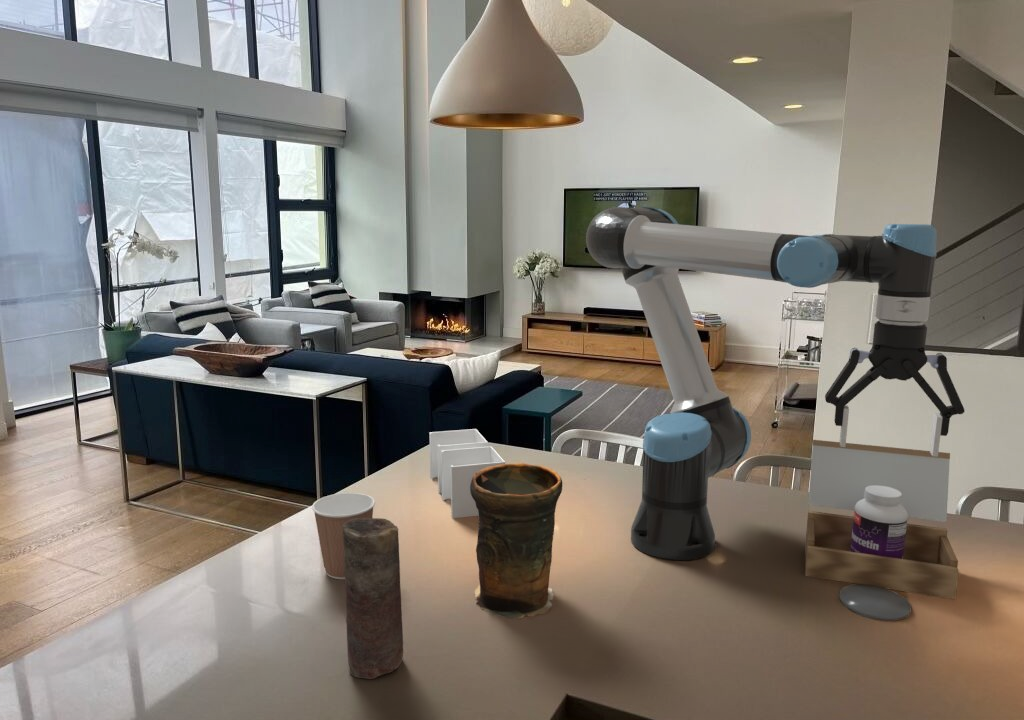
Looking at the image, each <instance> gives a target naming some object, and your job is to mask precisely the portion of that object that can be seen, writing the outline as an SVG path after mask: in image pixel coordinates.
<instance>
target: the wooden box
mask: <svg viewBox="0 0 1024 720" xmlns="http://www.w3.org/2000/svg"><path fill="white" fill-rule="evenodd" d="M806 520H807V521H806V532H805V533H806V534H805V547H804V549H805V550H804V551H805V552H804V553H805V554H804V555H805V556H804V558H805V561H804V562H805V565H804V566H805V568H804V569H805V576H806V577H812V578H818V579H826V580H830V581H836V582H837V581H839V582H844V583H850V584H854V585H857V584H864V585H873V586H878V587H882V588H885V589H888V590H892V591H893V590H894V591H902V592H908V593H912V594H913V593H914V594H920V595H927V596H931V597H932V596H933V597H939V598H944V599H952V600H956V592H957V586H958V585H957V584H958V577H959V568H958V565H959V560H958V558H957V556H956V553H955V551H954V549H953V547H952V544H951V542H950V540H949V538H948V528H945V527H936V526H929V525H922V524H921V525H920V524H914V523H907V527H906V535H905V544H904V552H903V559H898V558H891V557H884V556H877V555H871V554H864V553H857V552H850V548H851V539H852V529H853V520H854V515H844V514H837V513H836V514H835V513H829V512H822V511H814V510H807V519H806Z"/></svg>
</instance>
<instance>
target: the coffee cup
mask: <svg viewBox="0 0 1024 720" xmlns="http://www.w3.org/2000/svg"><path fill="white" fill-rule="evenodd" d="M375 504H376V501H375V498H374V497H372V496H370V495H368V494H366V493H359V492H338V493H335V494H330V495H327V496H323V497H321V498H319V499H317V500H316V501H314V502H313V504H312V505H311V508H312V512H314V518H315V524H316V529H317V534H318V540H319V545H320V552H321V558H322V562H323V568H324V570H325V573H326V575H327V576H328V577H330V578H331V579H334V580H345V570H344V544H343V525H344V524H345V523H346V522H348V521H349V520H351V519H355V518H374V517H373V514H374V513H373V512H374V506H375Z"/></svg>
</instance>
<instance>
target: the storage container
mask: <svg viewBox="0 0 1024 720" xmlns="http://www.w3.org/2000/svg"><path fill="white" fill-rule="evenodd" d="M428 433H429V474H430V475H429V477H430V479H431V480H433V479H434V478H437V492H438V494H439V495H441V499H442V500H441V501H444V502H445V501H446V500H450V507H451V508H450V514H451V516H450V517H451V518H452V519H458V518H469V517H477V516H478V517H479V512H478V509H477V508H476V503H475V500H474V499H473V498H472V496H471V492H470V484H471V481H472V478H473V476H474V475H475V473H476V472H478V471H479V470H482V469H484V468H488V467H490V466H497V465H502V464H506V461H505V460H504V459H503V458H502V456H500V454H499V453H498V452H497V451H496V449H495V448H493V446H492V445H490V446H489V442H488V440H486V438H485V437H484V436H483V435H482V434H481V433H480V432H479V430H478V429H477V428H472V429H471V428H470V429H468V428H467V429H459V430H458V429H457V430H443V431H442V430H441V431H432V432H431V431H430V432H429V431H428Z"/></svg>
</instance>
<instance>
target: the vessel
mask: <svg viewBox="0 0 1024 720" xmlns="http://www.w3.org/2000/svg"><path fill="white" fill-rule="evenodd" d="M562 491H563V480H562V477H561V475H560V474H559V473H558V472H557V471H555V470H553V469H552V468H549V467H546V466H544V465H539V464H537V465H536V464H534V465H533V464H528V463H523V462H518V463H517V462H516V463H505V464H502V465H497V466H490V467H488V468H484V469H482V470H479V471H478V472H476V473H475V475H474V476H473V478H472V481H471V484H470V492H471V496H472V498H473V499H474V500H475V503H476V508H477V509H478V512H479V516H478V530H477V531H478V532H477V542H476V549H475V553H476V562H477V566H478V579H479V584H478V586H477V587H476V589H475V590H474V594H475V595H474V597H475V598H476V599H475V601H476V602H475V603H476V604H475V605H478V606H479V608H480V610H481V611H483V610H484V612H486V613H487V614H488V615H494V616H500V617H503V618H506V619H511V620H516V619H517V620H518V619H524V618H525V616H528V617H535V616H536V615H541V614H542V615H543V614H547V612H548V611H549V610H550V609H551V608H552V606H553V603H552V602H551V600H554V598H553V597H554V596H555V594H554V593H553V588H551V587H549V586H550V585H549V584H550V573H551V566H552V560H553V540H554V534H555V521H556V519H555V518H556V515H555V513H556V508H557V505H558V504H557V503H558V501H559V498H560V496H561V494H562Z"/></svg>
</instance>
